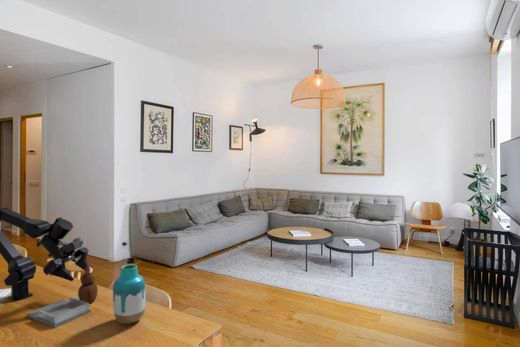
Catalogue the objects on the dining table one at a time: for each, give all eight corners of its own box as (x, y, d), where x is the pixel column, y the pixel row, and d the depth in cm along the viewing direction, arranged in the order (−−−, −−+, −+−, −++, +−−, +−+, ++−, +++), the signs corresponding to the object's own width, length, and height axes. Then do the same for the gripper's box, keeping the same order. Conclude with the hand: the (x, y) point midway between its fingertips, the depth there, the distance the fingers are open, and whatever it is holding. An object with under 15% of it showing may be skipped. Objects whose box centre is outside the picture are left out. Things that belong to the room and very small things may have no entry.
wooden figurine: (88, 307, 125) (87, 268, 124) (75, 305, 127) (74, 267, 126) (100, 299, 132) (99, 262, 131) (88, 298, 133) (87, 261, 132)
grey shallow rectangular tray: (26, 316, 118) (26, 306, 118) (63, 301, 130) (62, 293, 129) (54, 328, 110) (54, 317, 110) (90, 311, 121) (90, 302, 121)
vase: (152, 316, 118) (151, 263, 117) (132, 330, 108) (130, 273, 107) (128, 311, 122) (127, 260, 121) (106, 325, 112) (105, 269, 111)
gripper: (48, 239, 120) (76, 270, 119) (84, 228, 138) (108, 255, 137) (30, 259, 122) (58, 290, 120) (68, 245, 140) (92, 272, 139)
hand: (81, 275), depth 129 cm, fingers open, 9 cm apart
